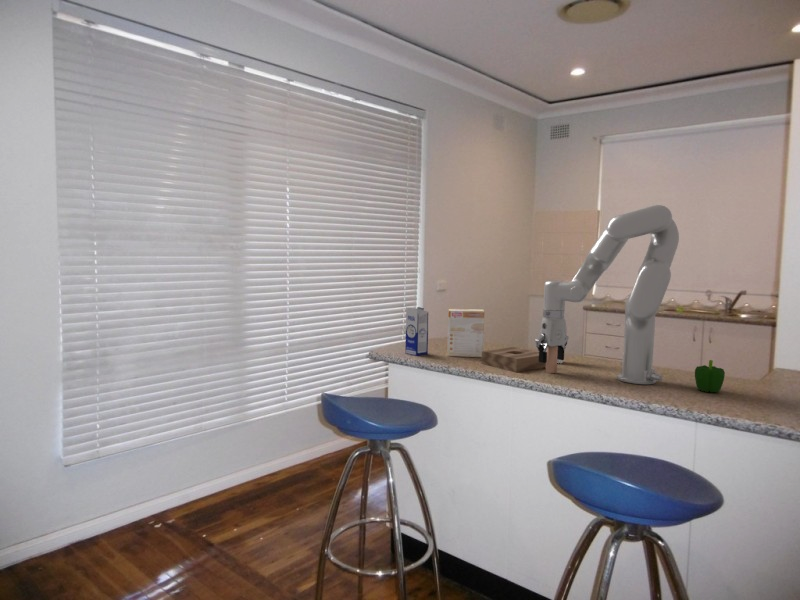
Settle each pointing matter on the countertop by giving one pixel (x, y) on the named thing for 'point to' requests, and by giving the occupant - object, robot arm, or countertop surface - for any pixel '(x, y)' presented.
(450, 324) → the coffeecake box
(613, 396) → the countertop surface
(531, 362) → the socket block
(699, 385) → the bell pepper
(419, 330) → the milk carton
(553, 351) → the peg
